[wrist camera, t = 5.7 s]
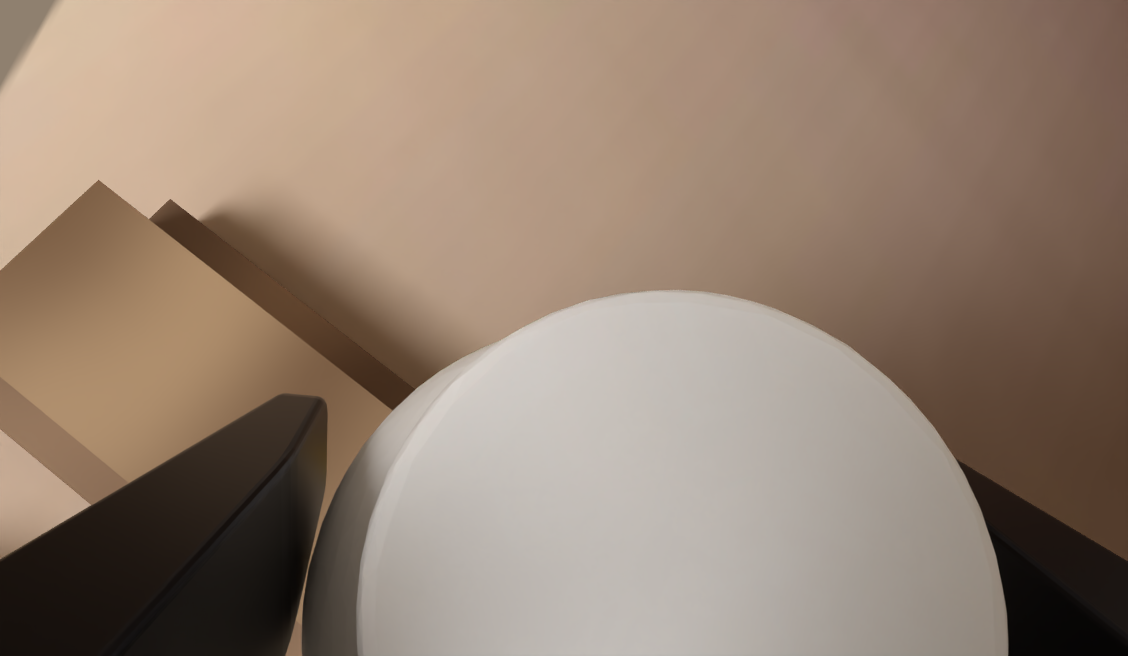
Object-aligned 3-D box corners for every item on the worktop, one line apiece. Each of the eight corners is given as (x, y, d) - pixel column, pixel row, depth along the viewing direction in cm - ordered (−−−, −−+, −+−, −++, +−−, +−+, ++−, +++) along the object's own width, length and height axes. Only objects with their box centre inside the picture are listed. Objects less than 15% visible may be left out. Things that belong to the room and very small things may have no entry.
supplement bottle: (628, 883, 14) (979, 1380, 5) (300, 715, 14) (-8, 863, 5) (761, 542, 16) (1205, 399, 6) (466, 398, 16) (480, 56, 7)
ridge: (646, 583, 22) (686, 574, 18) (483, 818, 20) (490, 862, 16) (187, 225, 23) (135, 145, 19) (-4, 413, 21) (-104, 366, 17)
